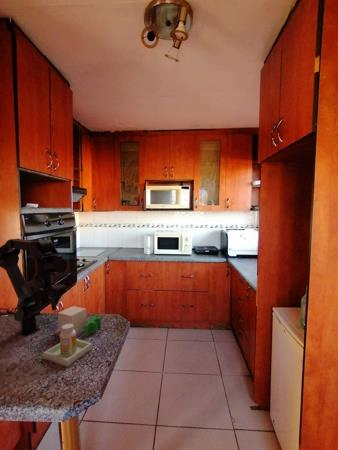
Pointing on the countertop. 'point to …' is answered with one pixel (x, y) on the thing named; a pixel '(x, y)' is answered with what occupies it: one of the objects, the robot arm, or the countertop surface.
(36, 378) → the countertop surface
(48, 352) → the tray
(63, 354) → the supplement bottle
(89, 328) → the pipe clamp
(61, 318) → the plain beige box
